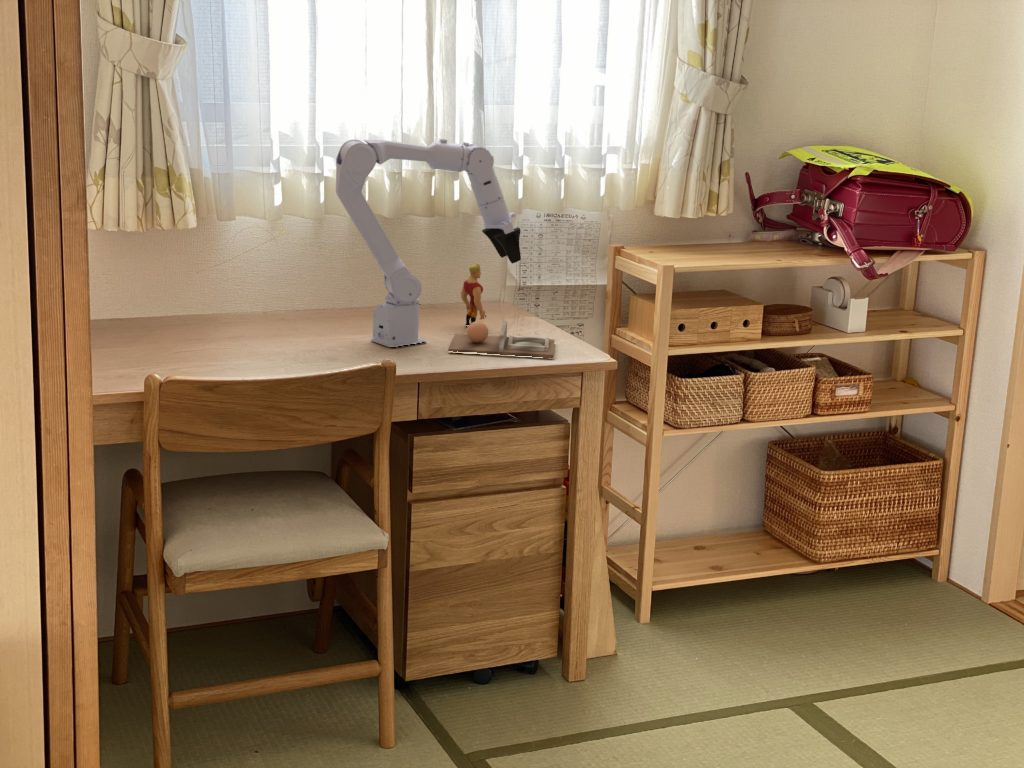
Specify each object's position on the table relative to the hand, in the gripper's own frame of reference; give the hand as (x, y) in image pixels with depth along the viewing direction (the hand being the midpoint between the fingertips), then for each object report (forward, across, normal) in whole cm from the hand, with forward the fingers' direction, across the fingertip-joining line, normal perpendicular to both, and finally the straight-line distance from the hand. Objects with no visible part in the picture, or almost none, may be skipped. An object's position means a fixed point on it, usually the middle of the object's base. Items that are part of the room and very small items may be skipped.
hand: (510, 258), depth 260 cm
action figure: (+15, +12, +11) cm, 22 cm away
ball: (+10, -6, +14) cm, 18 cm away
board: (+16, -8, +10) cm, 20 cm away
